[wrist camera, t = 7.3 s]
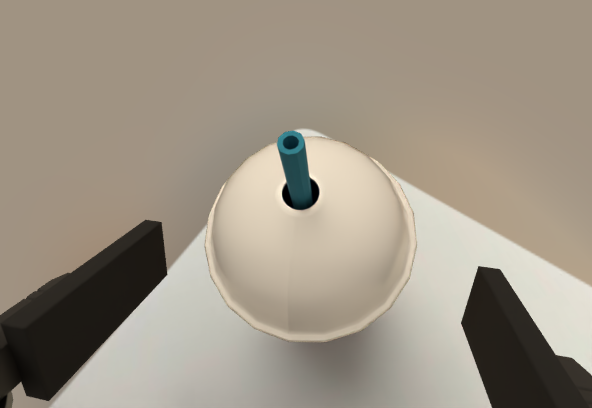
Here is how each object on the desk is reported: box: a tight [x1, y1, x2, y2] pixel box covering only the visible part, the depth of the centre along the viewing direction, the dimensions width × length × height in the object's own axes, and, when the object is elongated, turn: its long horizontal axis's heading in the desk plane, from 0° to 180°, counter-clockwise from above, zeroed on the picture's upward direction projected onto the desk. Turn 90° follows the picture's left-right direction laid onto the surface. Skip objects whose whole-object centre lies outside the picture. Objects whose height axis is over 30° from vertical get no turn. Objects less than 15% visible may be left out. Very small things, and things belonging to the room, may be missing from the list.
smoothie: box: [205, 131, 417, 342], centre depth 17 cm, size 8×8×20 cm
